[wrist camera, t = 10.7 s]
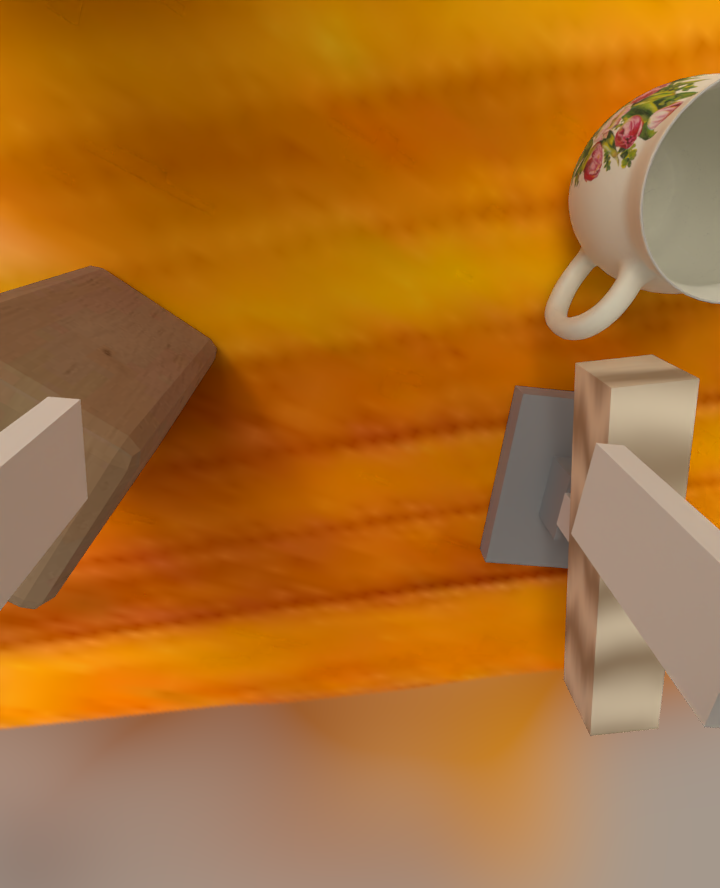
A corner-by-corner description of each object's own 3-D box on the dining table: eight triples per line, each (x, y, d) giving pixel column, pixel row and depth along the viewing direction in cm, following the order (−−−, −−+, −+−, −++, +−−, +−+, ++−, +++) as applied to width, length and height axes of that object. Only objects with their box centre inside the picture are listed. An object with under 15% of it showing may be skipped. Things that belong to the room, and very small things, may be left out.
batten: (575, 362, 36) (611, 388, 31) (652, 354, 36) (699, 378, 31) (563, 679, 45) (590, 735, 40) (624, 673, 45) (658, 728, 40)
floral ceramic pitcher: (463, 261, 42) (520, 291, 29) (664, 15, 37) (840, -79, 24) (574, 358, 44) (671, 424, 32) (774, 143, 39) (984, 119, 27)
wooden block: (225, 343, 43) (143, 458, 25) (155, 451, 46) (35, 625, 27) (94, 257, 40) (-107, 312, 22) (29, 376, 43) (-197, 514, 25)
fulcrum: (515, 385, 45) (553, 426, 37) (645, 398, 46) (709, 441, 38) (479, 548, 50) (507, 614, 42) (596, 557, 51) (644, 623, 43)
